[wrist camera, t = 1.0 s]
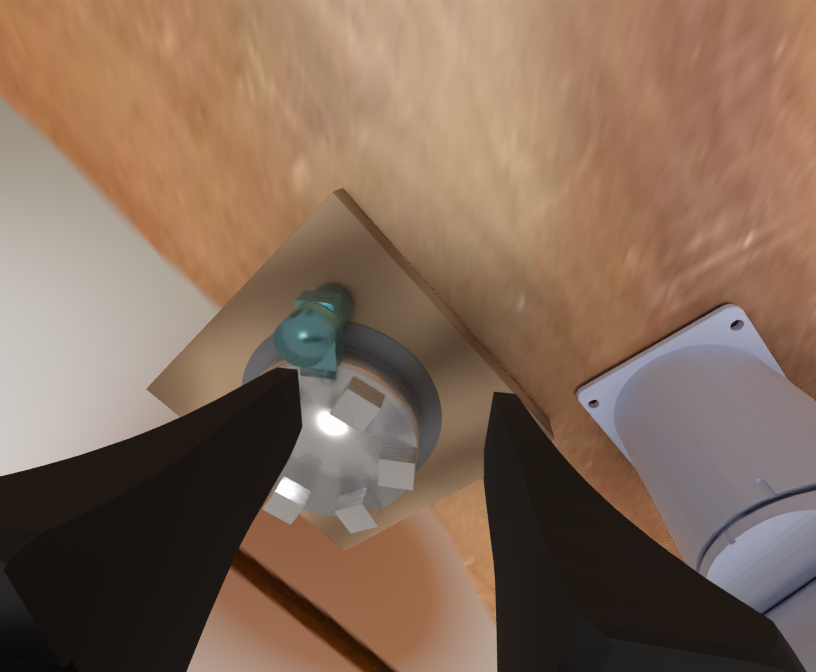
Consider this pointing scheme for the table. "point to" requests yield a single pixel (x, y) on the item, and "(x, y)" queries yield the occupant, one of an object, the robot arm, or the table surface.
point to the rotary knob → (342, 419)
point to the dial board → (368, 330)
